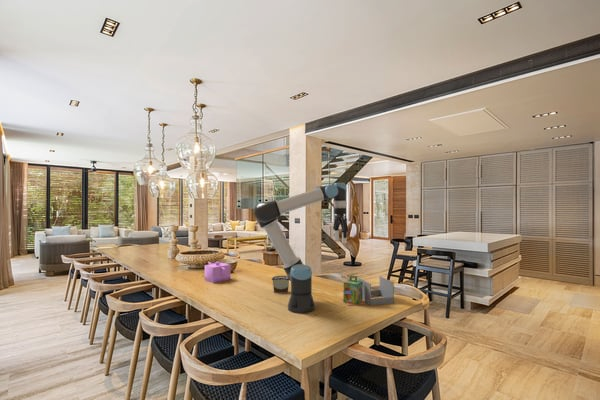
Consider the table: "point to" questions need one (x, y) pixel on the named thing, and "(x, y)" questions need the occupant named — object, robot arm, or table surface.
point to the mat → (354, 304)
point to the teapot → (217, 272)
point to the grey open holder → (378, 292)
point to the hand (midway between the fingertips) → (340, 242)
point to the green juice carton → (353, 291)
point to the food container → (280, 284)
